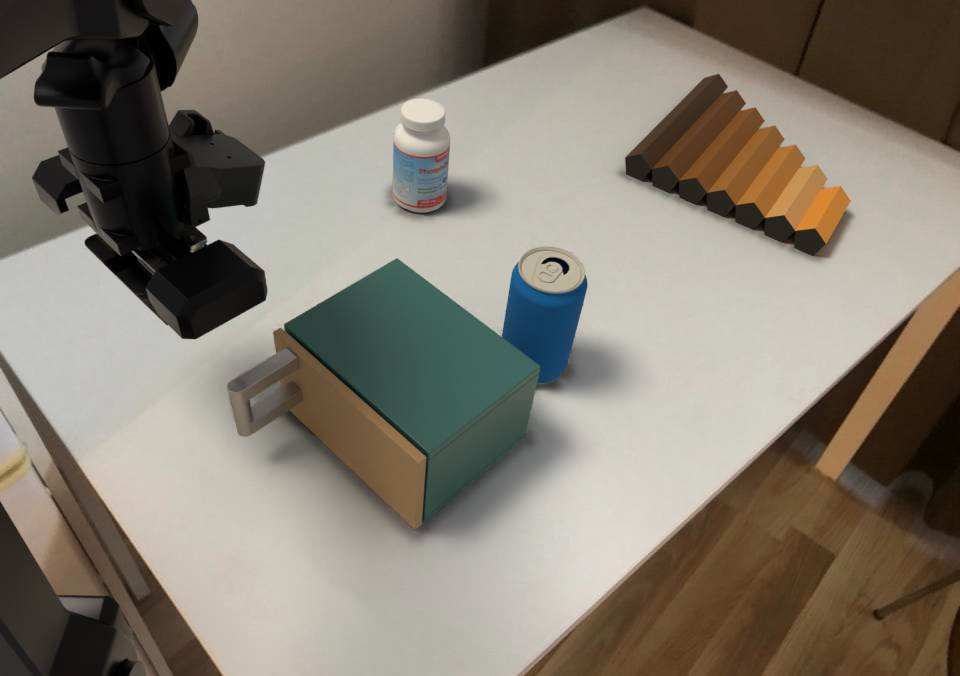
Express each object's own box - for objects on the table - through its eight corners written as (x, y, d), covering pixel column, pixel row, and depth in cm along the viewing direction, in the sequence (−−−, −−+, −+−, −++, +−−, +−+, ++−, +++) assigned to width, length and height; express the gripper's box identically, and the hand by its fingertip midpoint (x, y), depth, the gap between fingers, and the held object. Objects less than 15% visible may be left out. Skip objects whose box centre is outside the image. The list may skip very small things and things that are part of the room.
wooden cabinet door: (358, 578, 59) (354, 513, 52) (226, 441, 66) (208, 369, 59) (422, 524, 62) (426, 456, 55) (290, 400, 69) (280, 326, 62)
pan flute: (699, 91, 112) (621, 171, 97) (707, 69, 110) (627, 148, 95) (875, 159, 104) (818, 258, 89) (886, 136, 102) (831, 235, 87)
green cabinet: (424, 523, 62) (429, 453, 55) (293, 399, 69) (283, 323, 62) (525, 438, 69) (541, 366, 62) (395, 332, 76) (397, 257, 69)
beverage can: (578, 357, 76) (603, 263, 67) (545, 400, 72) (567, 307, 63) (520, 327, 78) (537, 232, 69) (485, 367, 74) (498, 272, 65)
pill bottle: (425, 222, 87) (430, 133, 79) (381, 200, 89) (381, 111, 81) (456, 195, 91) (463, 108, 83) (413, 175, 93) (416, 88, 85)
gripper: (327, 159, 47) (338, 336, 59) (156, 36, 55) (195, 214, 67) (158, 237, 41) (207, 418, 53) (-7, 88, 49) (67, 273, 61)
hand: (171, 320), depth 59 cm, fingers closed
